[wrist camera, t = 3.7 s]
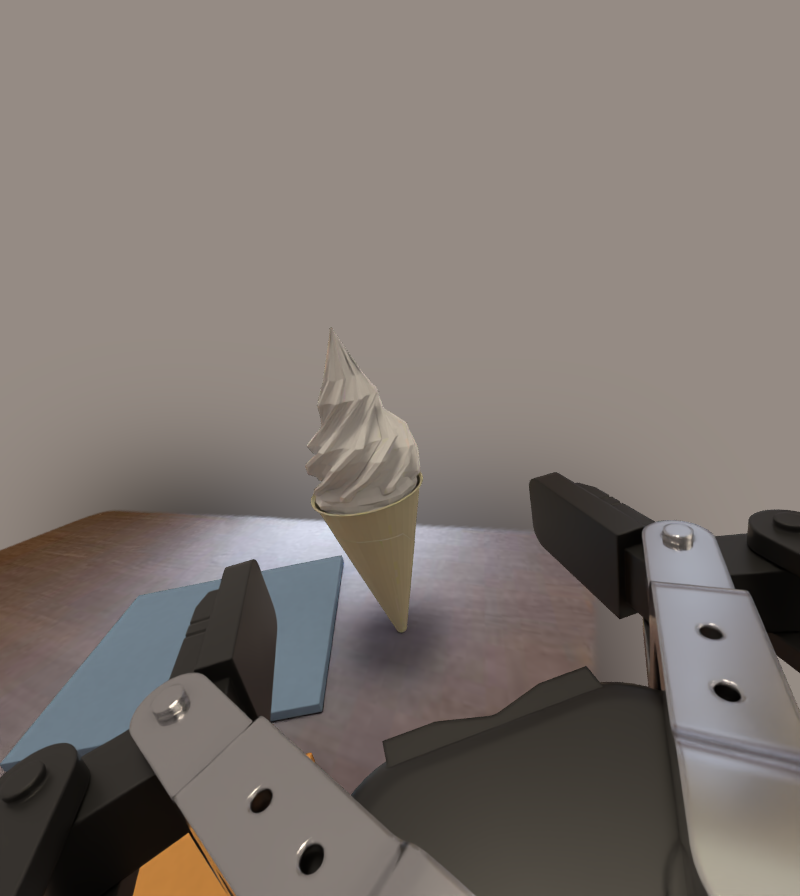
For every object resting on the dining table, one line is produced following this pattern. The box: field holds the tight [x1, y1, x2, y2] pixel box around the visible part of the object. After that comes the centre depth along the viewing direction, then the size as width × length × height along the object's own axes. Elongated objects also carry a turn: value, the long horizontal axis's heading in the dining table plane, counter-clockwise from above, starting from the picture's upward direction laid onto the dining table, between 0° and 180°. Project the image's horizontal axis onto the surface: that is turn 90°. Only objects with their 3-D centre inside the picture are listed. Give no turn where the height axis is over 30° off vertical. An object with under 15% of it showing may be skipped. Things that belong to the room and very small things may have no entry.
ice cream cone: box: [305, 327, 423, 633], centre depth 19 cm, size 5×5×15 cm
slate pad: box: [0, 555, 343, 772], centre depth 23 cm, size 14×11×1 cm
